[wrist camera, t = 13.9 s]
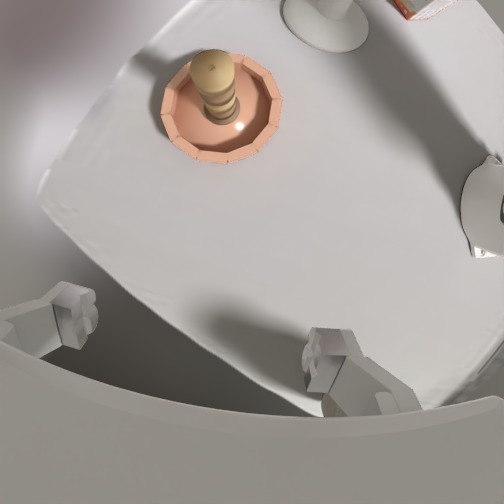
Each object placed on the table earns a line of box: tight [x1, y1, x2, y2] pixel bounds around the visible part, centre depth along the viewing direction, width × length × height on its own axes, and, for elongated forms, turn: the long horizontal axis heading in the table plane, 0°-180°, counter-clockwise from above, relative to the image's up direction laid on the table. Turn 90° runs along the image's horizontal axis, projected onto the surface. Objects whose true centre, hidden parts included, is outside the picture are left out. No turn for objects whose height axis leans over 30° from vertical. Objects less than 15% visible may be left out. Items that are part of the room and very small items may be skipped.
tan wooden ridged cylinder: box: [189, 49, 240, 125], centre depth 25 cm, size 4×4×14 cm
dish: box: [161, 53, 283, 164], centre depth 32 cm, size 14×14×3 cm
